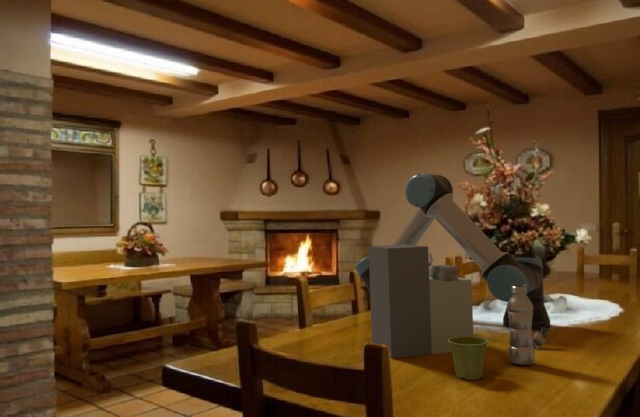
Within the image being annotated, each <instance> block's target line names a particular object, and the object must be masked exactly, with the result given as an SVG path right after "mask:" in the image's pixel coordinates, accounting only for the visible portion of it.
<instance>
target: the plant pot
mask: <svg viewBox="0 0 640 417" xmlns="http://www.w3.org/2000/svg"><path fill="white" fill-rule="evenodd" d="M448 342H449V343H450V348H451V349H452V352H451V353H452V359H453V364H454V369H455V376H456V377H457V378H458V379H465V380H467V381H476V380H479V379H481V378H483V377H484V369H485V368H484V367H485V357H486V350H487V347H488V344H489V340H488V339H487V338H484V337H480V336H478V337H477V336H473V337H468V336H464V337H453V338H450V339H448Z"/></svg>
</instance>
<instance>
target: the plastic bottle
mask: <svg viewBox="0 0 640 417" xmlns="http://www.w3.org/2000/svg"><path fill="white" fill-rule="evenodd" d="M511 292H512V293H513V295H512V297H511V298H510V300H509V301H508V302H507V303H508V304H506V307H507V310H508V317H509V324H510V328H509V346H508V359H509V361H510V362H511V363H512V364H515V365H519V366H529V365H532V364H533V363H534V362H535V359H536V353H535V350H536V349H535V348H534V346H533V343H534V341H533V330H532V329H531V328H532V315H533V305H532V303H531V301H530V300H529V298H528V297H527V296H526V293H527V287H526V285H512V291H511Z"/></svg>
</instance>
